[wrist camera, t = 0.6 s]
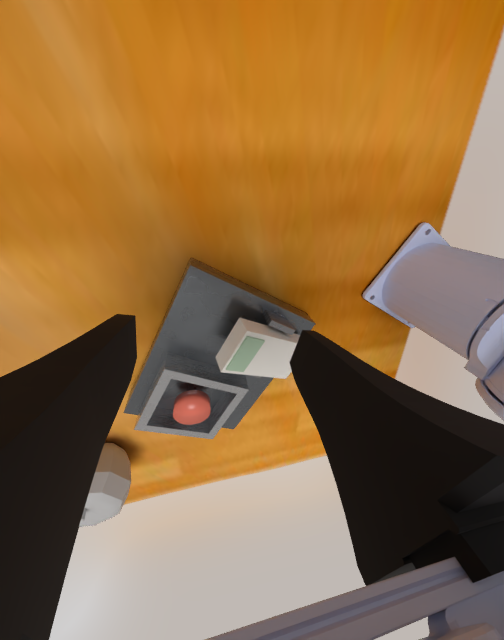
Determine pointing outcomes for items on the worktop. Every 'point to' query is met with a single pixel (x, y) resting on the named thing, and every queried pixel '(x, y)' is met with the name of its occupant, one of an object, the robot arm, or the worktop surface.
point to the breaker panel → (205, 352)
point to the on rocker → (257, 350)
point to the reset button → (191, 407)
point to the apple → (108, 486)
